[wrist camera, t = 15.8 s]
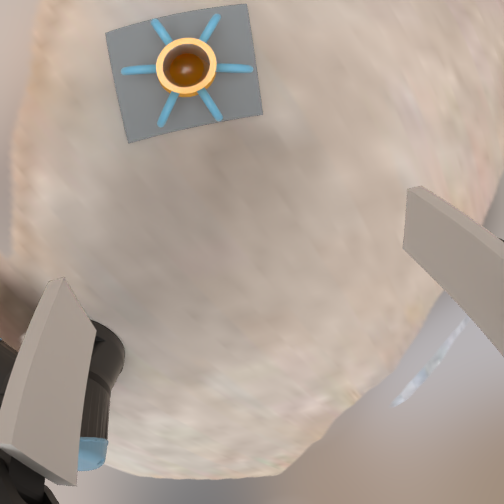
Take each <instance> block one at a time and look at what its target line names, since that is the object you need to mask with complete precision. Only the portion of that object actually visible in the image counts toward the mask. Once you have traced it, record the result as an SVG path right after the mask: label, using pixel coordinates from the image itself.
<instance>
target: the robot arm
mask: <svg viewBox="0 0 504 504" xmlns="http://www.w3.org/2000/svg"><path fill="white" fill-rule="evenodd" d="M403 249H404V250H405V251H406V252H407V253H408V254H409V255H410V256H411V257H412V258H413V259H414V260H415V261H416V262H417V263H418V264H419V265H420V266H421V267H422V268H423V269H424V270H425V271H426V272H427V273H428V274H429V275H430V276H431V277H432V278H433V279H434V280H435V281H436V282H437V283H438V284H439V285H440V286H441V287H442V288H443V289H444V290H445V291H446V292H447V293H448V294H449V295H450V296H451V297H452V298H453V299H454V301H455V302H456V303H457V304H458V305H459V306H460V307H461V308H462V309H463V310H464V311H465V313H466V314H467V315H468V316H469V317H470V318H471V319H472V320H473V321H474V323H476V325H477V326H478V327H479V328H480V329H481V331H483V333H484V334H485V335H486V336H487V338H488V339H489V340H490V341H491V342H492V344H493V345H494V346H495V347H496V348H497V350H498V351H499V352H500V353H501V354H502V356H503V357H504V240H502V239H500V238H498V237H496V236H495V235H494V234H492V233H491V232H490V231H488V230H487V229H486V228H484V227H483V226H481V225H480V224H479V223H477V222H476V221H474V220H473V219H472V218H470V217H469V216H467V215H466V214H464V213H463V212H462V211H460V210H459V209H457V208H456V207H454V206H453V205H451V204H450V203H448V202H447V201H445V200H443V199H442V198H440V197H439V196H437V195H436V194H434V193H433V192H431V191H429V190H428V189H426V188H424V187H423V186H418V187H414V188H409V189H407V202H406V217H405V229H404V240H403ZM124 358H125V351H124V347H123V345H122V343H121V342H120V340H119V339H118V338H117V336H116V335H115V334H114V333H112V332H111V331H110V330H109V329H107V328H106V327H104V326H102V325H100V324H98V323H96V322H93V321H91V320H90V319H89V318H88V316H87V315H86V313H85V311H84V310H83V308H82V307H81V305H80V303H79V302H78V300H77V298H76V296H75V295H74V293H73V291H72V290H71V288H70V286H69V284H68V283H67V281H66V279H65V277H62V278H59V279H56V280H52V281H49V282H48V284H47V286H46V288H45V290H44V292H43V295H42V297H41V299H40V301H39V303H38V306H37V308H36V310H35V312H34V315H33V317H32V319H31V322H30V324H29V327H28V329H27V332H26V334H25V337H24V339H23V342H22V344H21V347H20V350H19V352H17V351H16V350H14V349H13V348H12V347H10V346H9V345H8V344H6V343H5V342H4V341H3V340H2V338H0V504H59V502H58V501H57V499H56V498H55V496H54V495H53V493H52V491H51V490H50V489H49V488H48V487H47V486H46V485H44V482H45V478H46V479H48V480H50V481H52V482H54V483H55V484H57V485H66V486H77V471H89V470H94V469H97V468H99V467H101V466H102V465H103V464H104V462H105V458H106V451H107V445H108V440H107V439H108V421H109V406H110V395H111V390H112V388H113V386H114V384H115V382H116V380H117V378H118V376H119V374H120V373H121V371H122V369H123V366H124Z"/></svg>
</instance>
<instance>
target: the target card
mask: <svg viewBox="0 0 504 504" xmlns="http://www.w3.org/2000/svg"><path fill="white" fill-rule="evenodd" d="M214 14H220V15H221V19H220V21H219V22H218V24H217V26H216V28H215V29H214V31H213V33H212V34H211V36H210V38H209V40H208V41H207V43H206V44H208V45H209V46H210V47H211V49H212V50H213V52H214V54H215V57H216V62H217V64H219V63H224V64H244V65H250V66H252V67H253V72H251V73H228V72H216V76H215V79H214V81H213V82H212V84H211V85H210V86H209V88H207V89H206V90H207V92H208V93H209V95H210V96H211V98H212V100H213V101H214V103H215V104H216V106H217V107H218V109H219V111H220V112H221V114H222V116H223V119H222V120H221V121H216V120H215V118H214V117H213V115H212V114H211V112H210V111H209V109H208V108H207V106H206V105H205V103H204V102H203V100H202V99H201V97H200V96H199V94H198V95H196V96H192V97H178V98H177V100H176V102H175V104H174V106H173V109H172V111H171V113H170V115H169V117H168V119H167V121H166V124H165V125H164V127H158V126H157V121H158V119H159V116H160V114H161V112H162V110H163V107H164V105H165V103H166V101H167V99H168V97H169V95H170V93H169V92H167V91H166V90H165V89H164V88H163V87H162V86H161V84H160V82H159V80H158V76H157V73H151V74H137V75H122V74H121V69H122V68H124V67H129V66H137V65H154V64H156V63H157V59H158V56H159V54H160V53H161V51H162V50H163V49H164V48H165V47H166V45H165V44H164V42H163V41H162V40H161V38H160V37H159V35H158V34H157V32H156V31H155V29H154V28H153V27H152V25H151V20H148V21H144V22H140V23H136V24H133V25H129V26H126V27H123V28H119V29H116V30H113V31H110V32H107V33H105V34H106V40H107V46H108V52H109V57H110V63H111V68H112V73H113V78H114V83H115V88H116V92H117V97H118V102H119V106H120V110H121V115H122V119H123V123H124V127H125V132H126V136H127V140H128V143H132V142H135V141H139V140H143V139H146V138H150V137H154V136H158V135H162V134H166V133H170V132H174V131H179V130H183V129H188V128H192V127H197V126H202V125H207V124H212V123H217V122H222V121H228V120H233V119H239V118H245V117H251V116H258V115H263V111H262V103H261V96H260V89H259V82H258V74H257V67H256V61H255V54H254V47H253V40H252V34H251V27H250V21H249V14H248V8H247V4H239V5H229V6H221V7H214V8H207V9H201V10H195V11H189V12H184V13H178V14H174V15H169V16H164V17H160V18H156V19H158V20H159V21H160V23H161V24H162V25H163V27H164V28H165V29H166V31H167V32H168V34H169V35H170V37H171V38H172V40H173V41H175V40H177V39H181V38H196V39H199V38H200V36H201V34H202V32H203V31H204V29H205V27H206V26H207V24H208V22H209V21H210V19H211V18H212V16H213V15H214Z"/></svg>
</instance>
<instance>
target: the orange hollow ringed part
mask: <svg viewBox="0 0 504 504" xmlns="http://www.w3.org/2000/svg"><path fill="white" fill-rule="evenodd" d="M220 19H221V15H220V14H214V15H213V16H212V18H211V19H210V21H209V22H208V24H207V26H206V27H205V29H204V31H203V32H202V34H201V36H200V38H199V39H196V38H181V39H177V40H175V41H173V40H172V38H171V37H170V35H169V34H168V32H167V31H166V29H165V28H164V27H163V25H162V24H161V23H160V21H159V20H158V19H156V18H155V19H152V20H151V25H152V27H153V28H154V29H155V31H156V32H157V34H158V35H159V37H160V38H161V40H162V41H163V42H164V44H165V45H166V47H165V48H164V49H163V50H162V51H161V53H160V54H159V56H158V59H157V63H156V64H154V65H137V66H129V67H124V68H122V69H121V74H122V75H137V74H151V73H157V76H158V80H159V82H160V84H161V86H162V87H163V88H164V89H165V90H166V91H167V92H169V93H170V95H169V97H168V99H167V101H166V103H165V105H164V107H163V110H162V112H161V114H160V116H159V119H158V121H157V126H158V127H164V125H165V124H166V121H167V119H168V117H169V115H170V113H171V111H172V109H173V106H174V104H175V102H176V100H177V98H178V97H192V96H196V95H198V94H199V96H200V97H201V99H202V100H203V102H204V103H205V105H206V106H207V108H208V109H209V111H210V112H211V114H212V115H213V117H214V118H215V120H216V121H221V120H222V119H223V116H222V114H221V112H220V111H219V109H218V107H217V106H216V104H215V103H214V101H213V100H212V98H211V96H210V95H209V93H208V92H207V90H206V89H207V88H209V86H210V85H211V84H212V82H213V81H214V79H215V76H216V72H228V73H251V72H253V67H252V66H250V65H244V64H224V63H219V64H217V62H216V57H215V54H214V52H213V50H212V49H211V47H210V46H209V45H208V44H206V43H207V41H208V40H209V38H210V36H211V34H212V33H213V31H214V29H215V28H216V26H217V24H218V22H219V21H220Z"/></svg>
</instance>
